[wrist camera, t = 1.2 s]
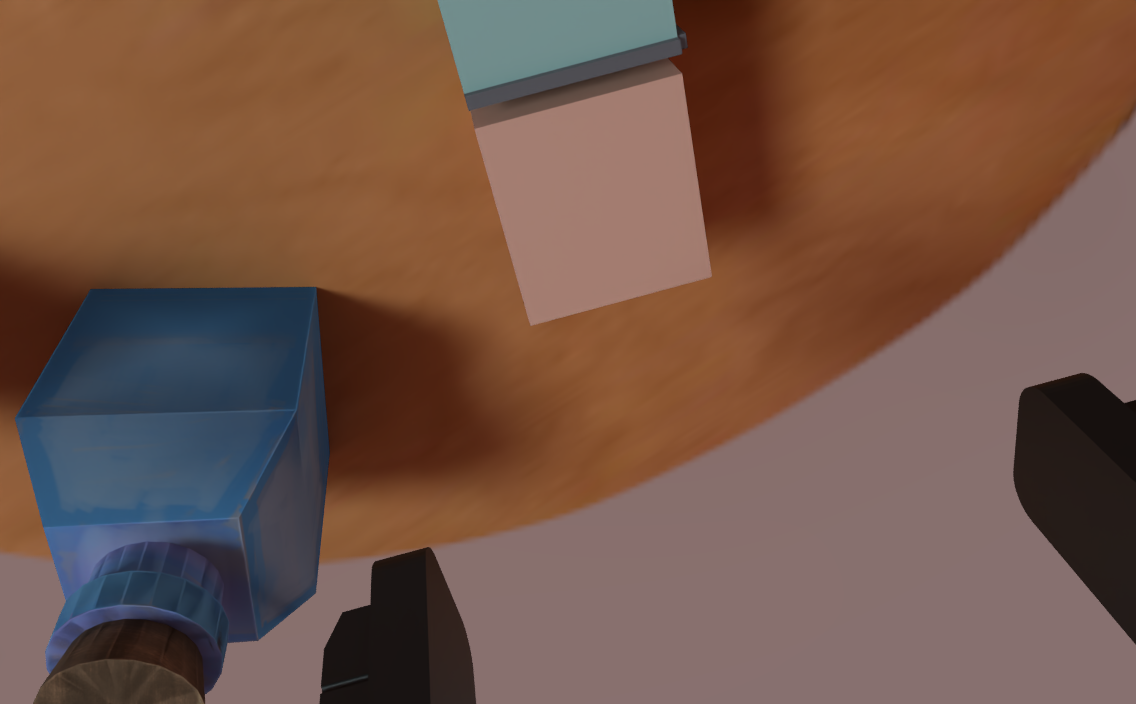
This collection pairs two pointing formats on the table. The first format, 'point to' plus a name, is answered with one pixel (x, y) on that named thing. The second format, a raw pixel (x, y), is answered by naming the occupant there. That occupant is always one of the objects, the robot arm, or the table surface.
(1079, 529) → the robot arm
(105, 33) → the table surface
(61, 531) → the perfume bottle
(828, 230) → the table surface
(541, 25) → the bar
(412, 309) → the table surface
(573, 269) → the stub
